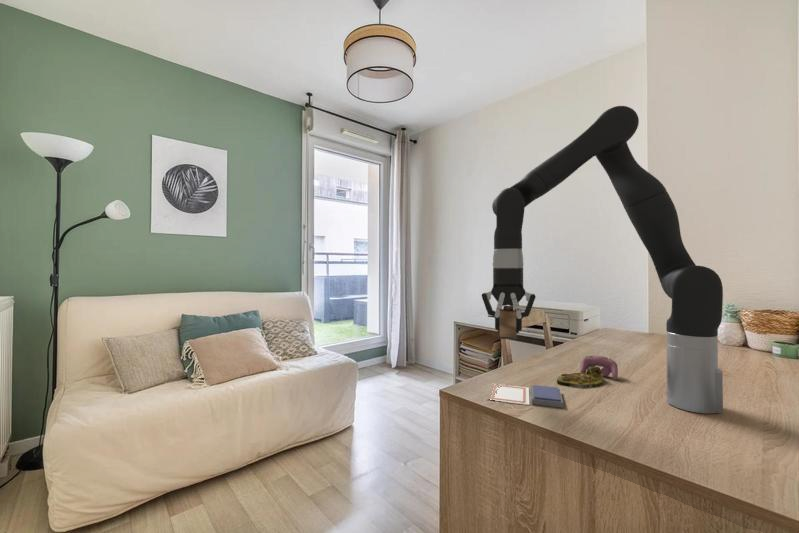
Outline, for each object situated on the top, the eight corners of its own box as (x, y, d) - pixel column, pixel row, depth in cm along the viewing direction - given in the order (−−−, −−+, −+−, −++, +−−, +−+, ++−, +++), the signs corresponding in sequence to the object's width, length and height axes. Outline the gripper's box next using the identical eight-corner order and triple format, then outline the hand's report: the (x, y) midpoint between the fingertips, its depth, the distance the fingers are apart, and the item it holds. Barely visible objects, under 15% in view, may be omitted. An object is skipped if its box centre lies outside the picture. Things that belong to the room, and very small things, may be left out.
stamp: (516, 335, 91) (516, 305, 91) (516, 339, 86) (516, 307, 86) (501, 334, 93) (501, 304, 93) (499, 338, 87) (499, 307, 87)
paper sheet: (529, 388, 93) (529, 387, 93) (529, 405, 82) (529, 404, 82) (491, 384, 97) (491, 383, 97) (486, 400, 85) (486, 398, 85)
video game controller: (618, 383, 101) (618, 359, 104) (617, 380, 98) (617, 355, 101) (580, 377, 107) (581, 355, 109) (579, 374, 103) (580, 351, 106)
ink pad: (559, 393, 90) (559, 386, 90) (563, 407, 80) (563, 401, 80) (531, 389, 92) (530, 383, 92) (531, 404, 83) (531, 397, 83)
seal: (571, 395, 92) (614, 388, 96) (573, 378, 91) (615, 372, 96) (547, 380, 101) (587, 374, 105) (548, 365, 100) (588, 359, 104)
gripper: (536, 266, 90) (537, 331, 90) (481, 266, 95) (482, 328, 95) (537, 266, 83) (538, 336, 83) (478, 266, 88) (478, 333, 88)
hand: (508, 331), depth 89 cm, fingers closed on stamp, 4 cm apart
